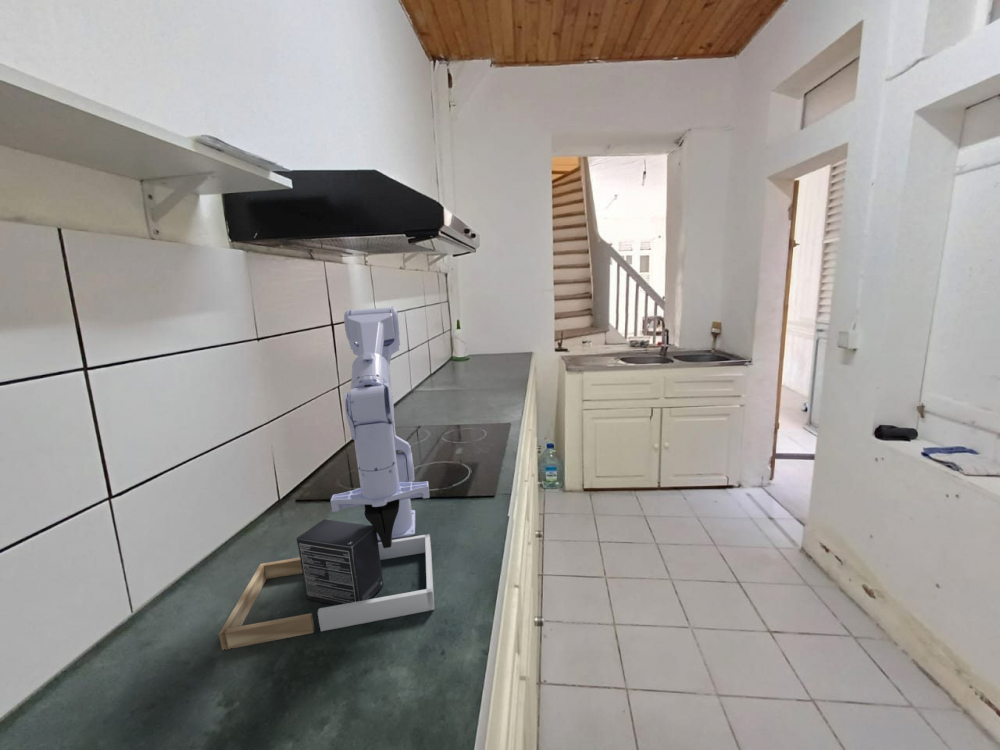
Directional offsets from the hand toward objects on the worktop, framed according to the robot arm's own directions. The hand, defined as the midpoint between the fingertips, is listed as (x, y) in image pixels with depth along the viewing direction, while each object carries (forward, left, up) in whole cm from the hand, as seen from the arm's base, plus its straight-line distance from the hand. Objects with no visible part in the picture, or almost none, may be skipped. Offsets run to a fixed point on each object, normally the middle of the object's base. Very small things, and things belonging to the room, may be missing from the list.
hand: (387, 544), depth 67 cm
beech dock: (0, -16, -7) cm, 17 cm away
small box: (0, -7, -7) cm, 10 cm away
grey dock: (0, -2, -7) cm, 7 cm away
